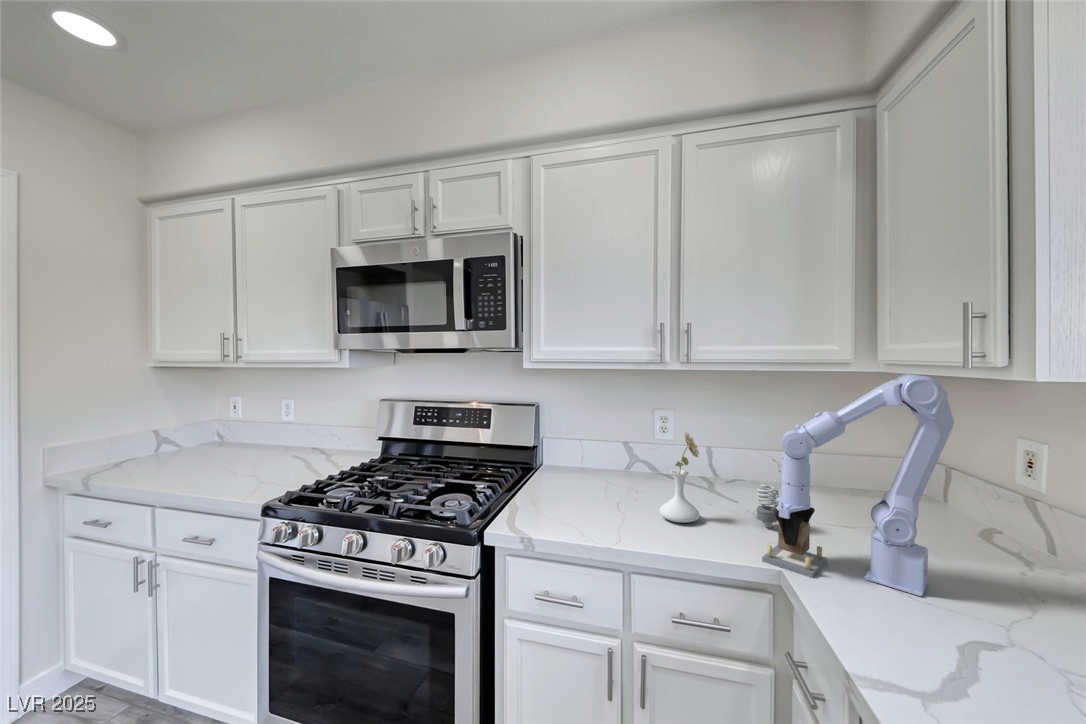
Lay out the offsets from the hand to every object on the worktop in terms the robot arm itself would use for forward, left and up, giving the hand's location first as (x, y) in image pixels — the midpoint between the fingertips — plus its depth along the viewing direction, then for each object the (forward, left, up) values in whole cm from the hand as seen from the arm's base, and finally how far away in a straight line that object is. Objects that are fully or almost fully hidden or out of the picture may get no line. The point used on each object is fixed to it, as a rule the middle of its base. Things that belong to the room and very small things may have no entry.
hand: (794, 541), depth 103 cm
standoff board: (0, 0, -5) cm, 5 cm away
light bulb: (+12, -16, -5) cm, 21 cm away
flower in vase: (+32, -5, -5) cm, 33 cm away
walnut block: (0, 0, -2) cm, 2 cm away
